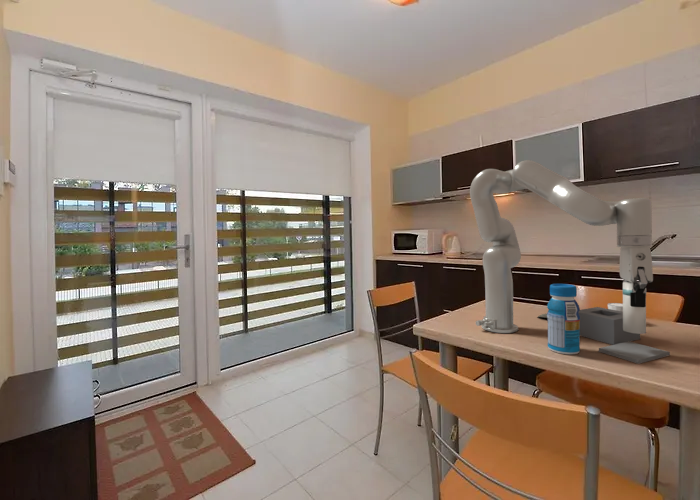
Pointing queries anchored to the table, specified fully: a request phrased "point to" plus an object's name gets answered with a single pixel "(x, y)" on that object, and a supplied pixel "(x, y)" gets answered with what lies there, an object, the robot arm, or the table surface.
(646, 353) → the rubber mat
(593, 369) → the table surface
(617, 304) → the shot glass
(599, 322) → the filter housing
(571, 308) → the beverage bottle
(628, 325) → the cylinder
